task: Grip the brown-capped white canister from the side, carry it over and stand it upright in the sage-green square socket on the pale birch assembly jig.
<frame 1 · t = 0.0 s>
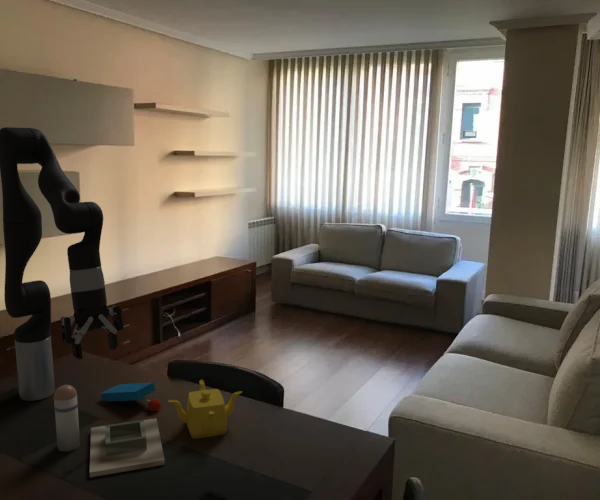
hand: (96, 354, 130), 22 cm above the table, tool pointing down, fingers open, 8 cm apart
teapot: (206, 427, 142), on the table
jig: (126, 447, 131), on the table
brown-capped white canister: (68, 445, 132), on the table
lever: (134, 404, 154), on the table
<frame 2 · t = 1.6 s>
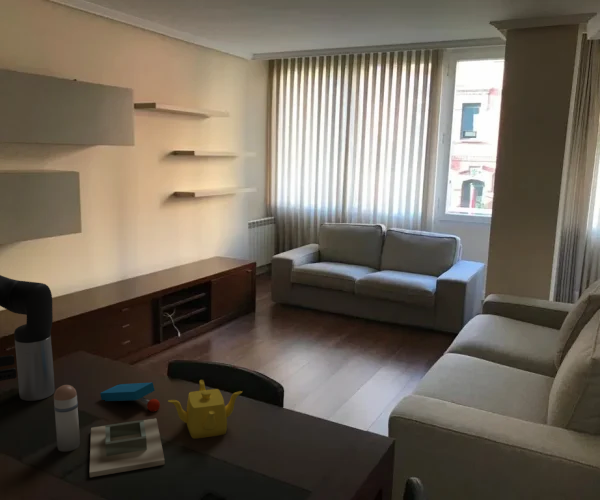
hand: (15, 365, 123), 22 cm above the table, tool horizontal, fingers open, 8 cm apart
nothing on the table moved.
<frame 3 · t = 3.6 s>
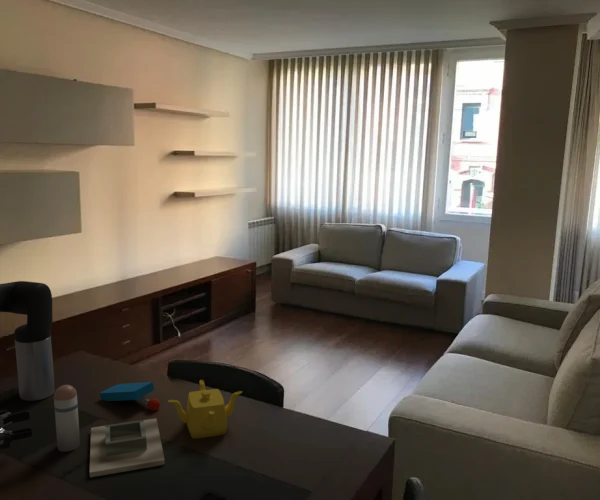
hand: (30, 422, 126), 8 cm above the table, tool horizontal, fingers open, 8 cm apart
nothing on the table moved.
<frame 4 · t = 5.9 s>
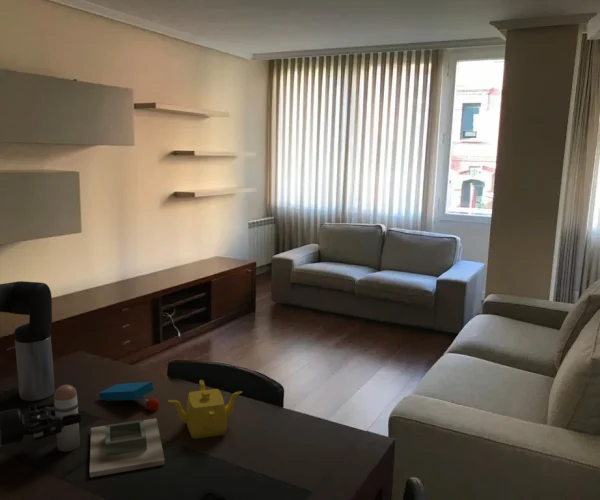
hand: (78, 412, 131), 8 cm above the table, tool horizontal, fingers closed on brown-capped white canister, 5 cm apart
brown-capped white canister: (68, 445, 132), on the table, touching gripper
everything else where it was.
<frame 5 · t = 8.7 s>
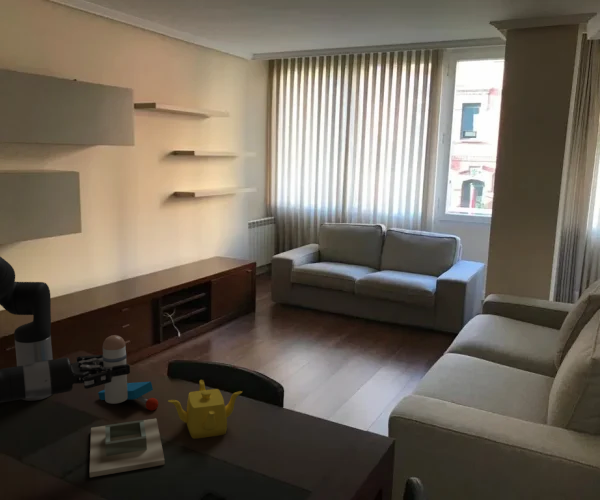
hand: (126, 364, 128), 21 cm above the table, tool horizontal, fingers closed on brown-capped white canister, 5 cm apart
brown-capped white canister: (116, 398, 128), point 13 cm above the table, touching gripper
when the fingers open (11 cm above the table, at t = 11.8 s): brown-capped white canister drops 1 cm, resting on jig.
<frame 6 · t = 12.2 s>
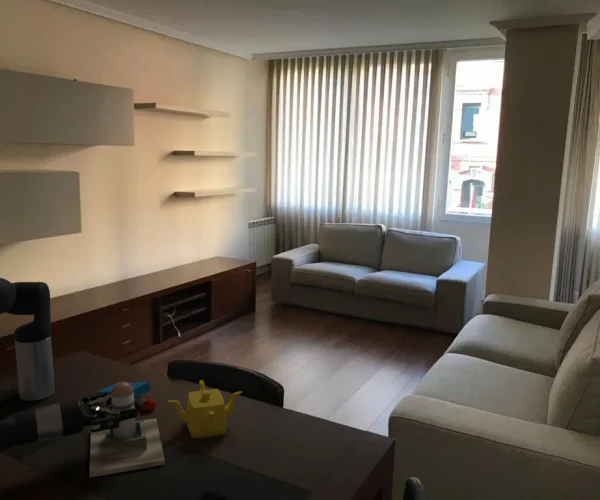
hand: (132, 404, 130), 11 cm above the table, tool horizontal, fingers open, 8 cm apart
brown-capped white canister: (125, 443, 131), point 1 cm above the table, touching jig
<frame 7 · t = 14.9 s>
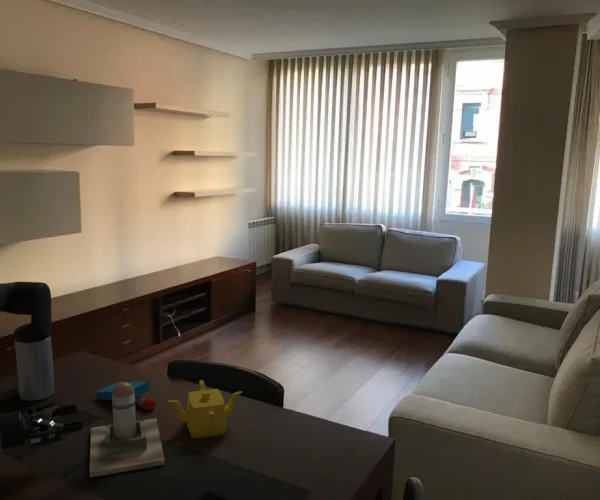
hand: (79, 415, 124), 11 cm above the table, tool horizontal, fingers open, 8 cm apart
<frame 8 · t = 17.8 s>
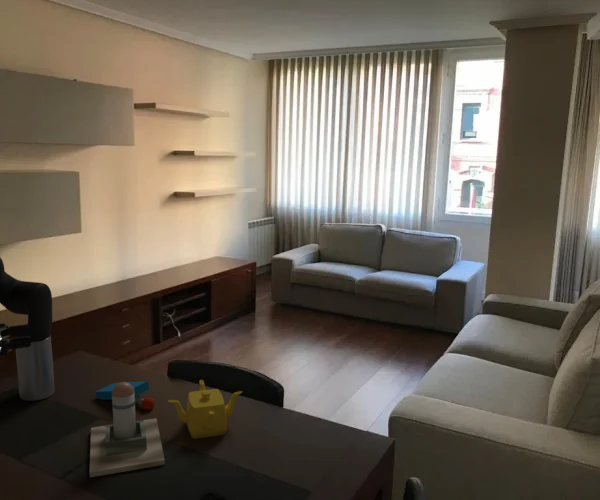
hand: (29, 334, 120), 30 cm above the table, tool horizontal, fingers open, 8 cm apart
at the end: brown-capped white canister 0.1 cm off-centre on the jig, point 1.2 cm above the jig's base; brown-capped white canister tilted 0°; the gripper is holding nothing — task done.
